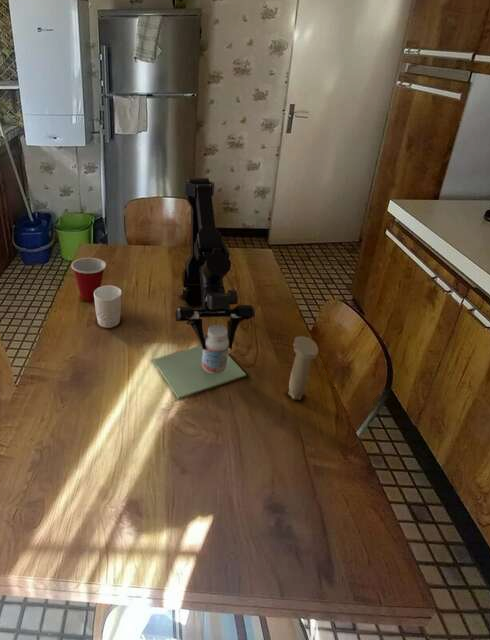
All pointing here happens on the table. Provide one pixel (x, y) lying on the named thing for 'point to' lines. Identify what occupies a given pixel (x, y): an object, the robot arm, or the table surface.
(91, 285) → the plastic cup
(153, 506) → the table surface
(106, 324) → the white cup
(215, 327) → the pill bottle
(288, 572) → the table surface
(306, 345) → the handle
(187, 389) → the mat
